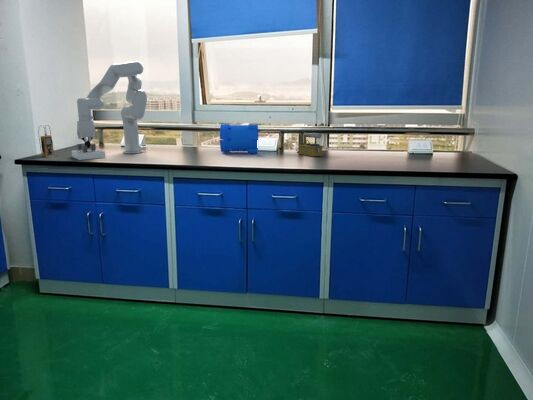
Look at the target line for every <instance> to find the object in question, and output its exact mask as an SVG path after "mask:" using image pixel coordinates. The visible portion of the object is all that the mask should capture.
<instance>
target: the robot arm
mask: <svg viewBox="0 0 533 400" xmlns="http://www.w3.org/2000/svg"><path fill="white" fill-rule="evenodd" d="M144 68H145V67H144V65H143V63H141V62H140V61H125V62H124V63H113V64H111V65H109V67H108V68H107V70H106V72H105V74H104V75H103V76H102V78H101V80H100V82H98V83H97V84H96V85H95V86H94V87H93V88H92V89H91V90H90V92H89V93H88V94H87V97H86V98H85V97H84V98H83V97H82V98H81V97H80V98H78V99H76V107H77V115H78V116H77V117H78V121H76V133H77V139H78V140H82V141H83V142H84V146H87V149H91V148H90V144H91V141H92V140H93V139H96V138H97V137H96V129H95V124H94V118H95V116H92V111H99V110H102V109H103V108H104V107H105V102H104V101H103V100H104V99H102V97H103V96H105V95H106V94H107V93H110V92H111V91H112V90H114V88H115V87H116V84H117V82H118V81H119V79H120V78H127V79H128V84H127V90H126V94H125V101H126V102H127V103H128V104H131V105H125V106H123V107H122V108H121V111H120V115H121V120H122V126H123V138H124V139H123V140H124V141H123V142H124V150H123V151H122V153H123V154H139V153H140V154H141V153H142V152H143V150H146V149H147V146H146V145H144V146H142V145H140V139H139V138H140V137H139V125H138V121H141V120H142V119H143V118H144V116H145V112H146V108H147V107H146V106H147V102H148V97H147V93H146V91H144V90H142V84H143V83H142V78H141V76H140V75H141V74H143V72H144Z"/></svg>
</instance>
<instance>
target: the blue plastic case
mask: <svg viewBox="0 0 533 400" xmlns="http://www.w3.org/2000/svg"><path fill="white" fill-rule="evenodd" d="M219 126H220V128H219V147H220V153H230V152H247V153H248V154H258V152H259V147H258V148H257V140H258V141H259V126H258V124H229V123H220V125H219Z"/></svg>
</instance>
